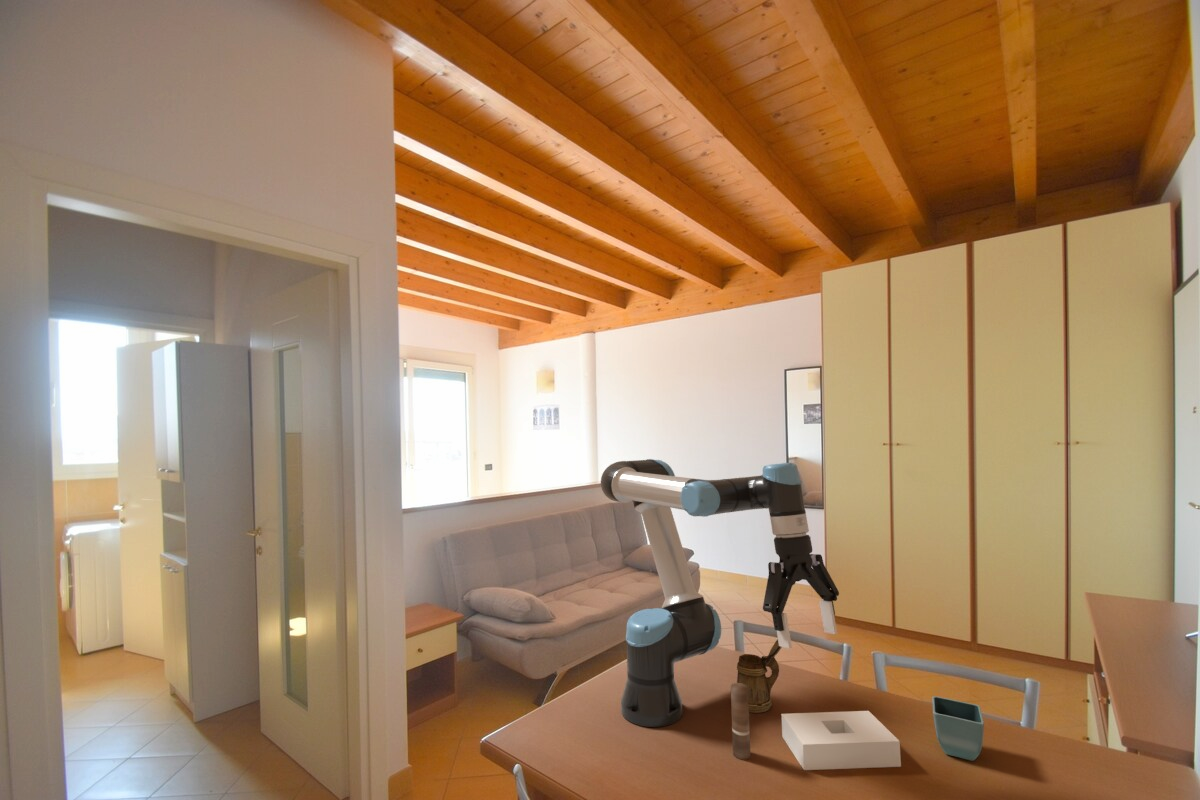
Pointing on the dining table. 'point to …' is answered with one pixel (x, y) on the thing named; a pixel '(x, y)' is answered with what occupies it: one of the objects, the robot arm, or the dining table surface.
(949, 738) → the flower pot
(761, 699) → the wooden mug
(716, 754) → the dining table surface
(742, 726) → the walnut peg
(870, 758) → the socket block
